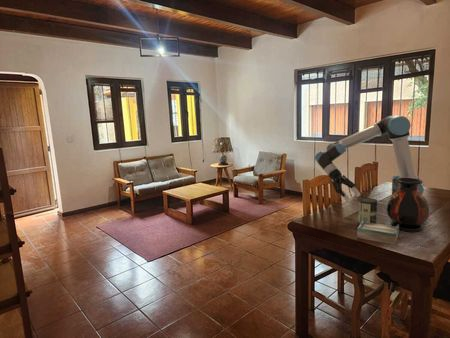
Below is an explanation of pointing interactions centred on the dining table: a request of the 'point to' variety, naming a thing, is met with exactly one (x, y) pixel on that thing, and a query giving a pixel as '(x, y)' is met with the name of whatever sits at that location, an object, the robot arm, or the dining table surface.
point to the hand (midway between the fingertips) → (354, 198)
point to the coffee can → (367, 210)
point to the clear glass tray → (378, 232)
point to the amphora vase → (408, 206)
